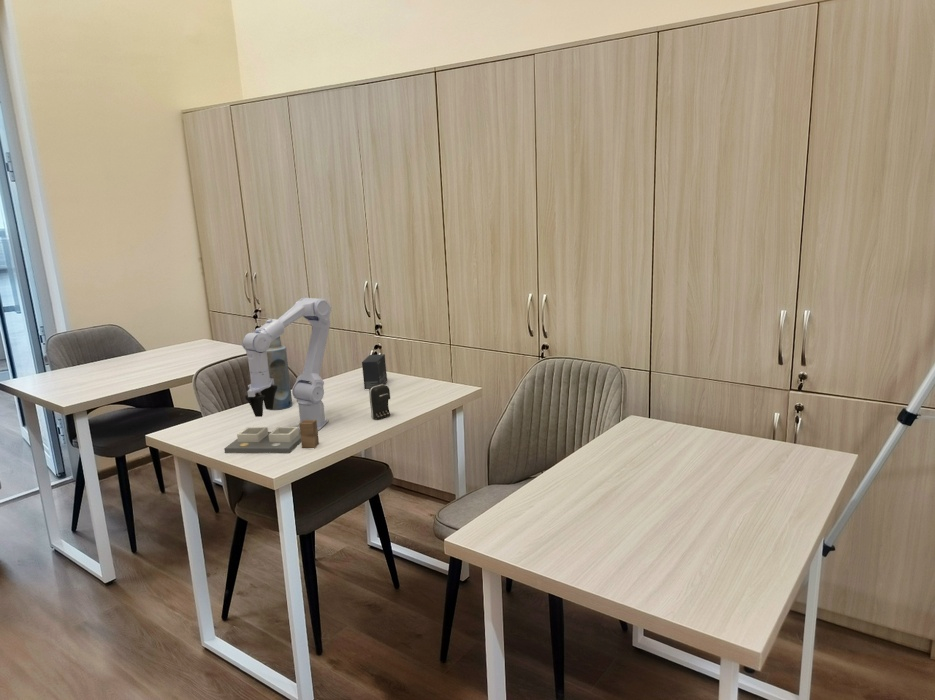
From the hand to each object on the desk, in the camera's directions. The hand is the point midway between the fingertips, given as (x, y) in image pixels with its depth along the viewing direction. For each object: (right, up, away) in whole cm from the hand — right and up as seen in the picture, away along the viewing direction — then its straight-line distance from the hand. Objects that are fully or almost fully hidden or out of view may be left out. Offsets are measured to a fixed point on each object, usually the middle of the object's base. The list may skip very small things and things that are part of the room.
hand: (264, 412), depth 208 cm
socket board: (0, -10, +2) cm, 10 cm away
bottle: (-7, -2, +43) cm, 44 cm away
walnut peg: (+15, -10, -2) cm, 18 cm away
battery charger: (+34, -4, +23) cm, 41 cm away
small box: (+26, +5, +66) cm, 71 cm away
